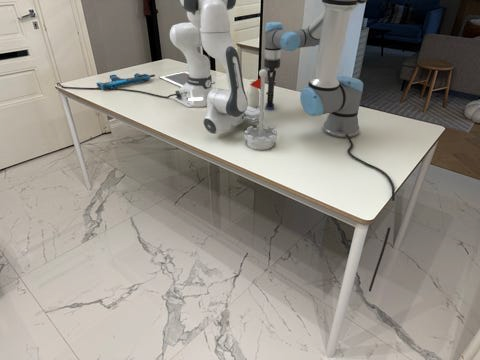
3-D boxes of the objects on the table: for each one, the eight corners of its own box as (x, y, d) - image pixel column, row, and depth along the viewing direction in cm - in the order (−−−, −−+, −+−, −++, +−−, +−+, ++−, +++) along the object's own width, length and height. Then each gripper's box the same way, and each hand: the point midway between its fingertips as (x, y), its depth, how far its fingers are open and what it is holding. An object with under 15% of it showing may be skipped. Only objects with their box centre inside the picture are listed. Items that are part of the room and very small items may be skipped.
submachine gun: (140, 68, 226) (159, 74, 209) (142, 73, 228) (160, 80, 211) (89, 77, 207) (104, 85, 190) (90, 84, 209) (106, 92, 192)
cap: (269, 110, 170) (269, 106, 169) (264, 108, 173) (264, 103, 171) (275, 108, 172) (275, 104, 171) (270, 106, 175) (270, 102, 173)
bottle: (244, 118, 162) (244, 79, 152) (254, 115, 164) (255, 77, 154) (250, 122, 158) (251, 82, 148) (260, 119, 160) (261, 80, 150)
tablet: (159, 77, 217) (158, 76, 217) (185, 71, 228) (185, 71, 228) (186, 89, 197) (186, 89, 197) (214, 82, 208) (214, 82, 208)
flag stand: (268, 134, 146) (271, 63, 130) (281, 147, 136) (287, 72, 120) (240, 139, 142) (239, 66, 126) (252, 153, 132) (253, 76, 116)
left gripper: (253, 114, 142) (272, 105, 151) (217, 103, 153) (237, 95, 162) (252, 128, 146) (271, 118, 154) (218, 116, 157) (237, 107, 166)
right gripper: (265, 52, 170) (264, 93, 181) (262, 65, 149) (261, 111, 160) (280, 52, 169) (278, 94, 180) (280, 65, 148) (277, 111, 160)
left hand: (253, 106), depth 158 cm, fingers closed on bottle, 5 cm apart
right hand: (270, 102), depth 170 cm, fingers open, 13 cm apart
